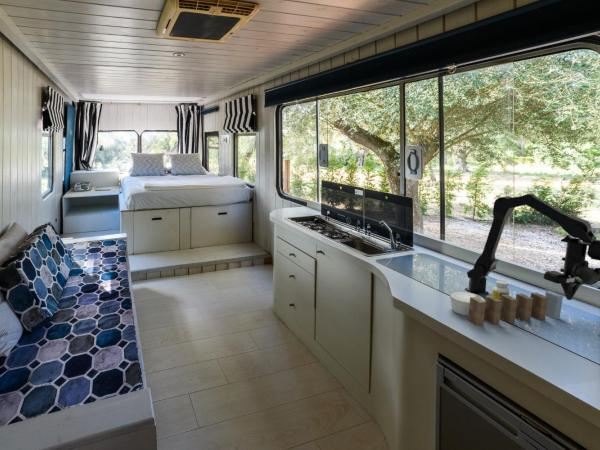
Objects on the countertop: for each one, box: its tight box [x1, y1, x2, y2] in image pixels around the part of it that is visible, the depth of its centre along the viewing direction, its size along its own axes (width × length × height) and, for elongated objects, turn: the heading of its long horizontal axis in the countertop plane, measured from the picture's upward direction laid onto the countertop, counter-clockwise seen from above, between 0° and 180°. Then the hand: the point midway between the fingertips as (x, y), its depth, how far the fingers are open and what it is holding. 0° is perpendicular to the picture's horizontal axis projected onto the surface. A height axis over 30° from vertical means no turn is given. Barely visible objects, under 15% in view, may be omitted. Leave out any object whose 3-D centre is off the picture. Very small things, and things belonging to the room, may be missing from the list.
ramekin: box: [449, 291, 486, 317], centre depth 146 cm, size 11×11×5 cm
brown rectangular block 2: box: [530, 292, 548, 321], centre depth 142 cm, size 5×2×8 cm, turn 13°
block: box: [544, 291, 564, 320], centre depth 143 cm, size 5×2×8 cm, turn 13°
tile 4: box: [484, 295, 502, 325], centre depth 138 cm, size 5×2×8 cm, turn 13°
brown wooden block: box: [500, 294, 517, 324], centre depth 139 cm, size 5×2×8 cm, turn 13°
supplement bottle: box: [491, 279, 510, 300], centre depth 149 cm, size 5×5×10 cm
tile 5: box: [467, 297, 486, 327], centre depth 136 cm, size 5×2×8 cm, turn 13°
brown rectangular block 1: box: [515, 293, 533, 322], centre depth 140 cm, size 5×2×8 cm, turn 13°
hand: (568, 299), depth 144 cm, fingers closed
